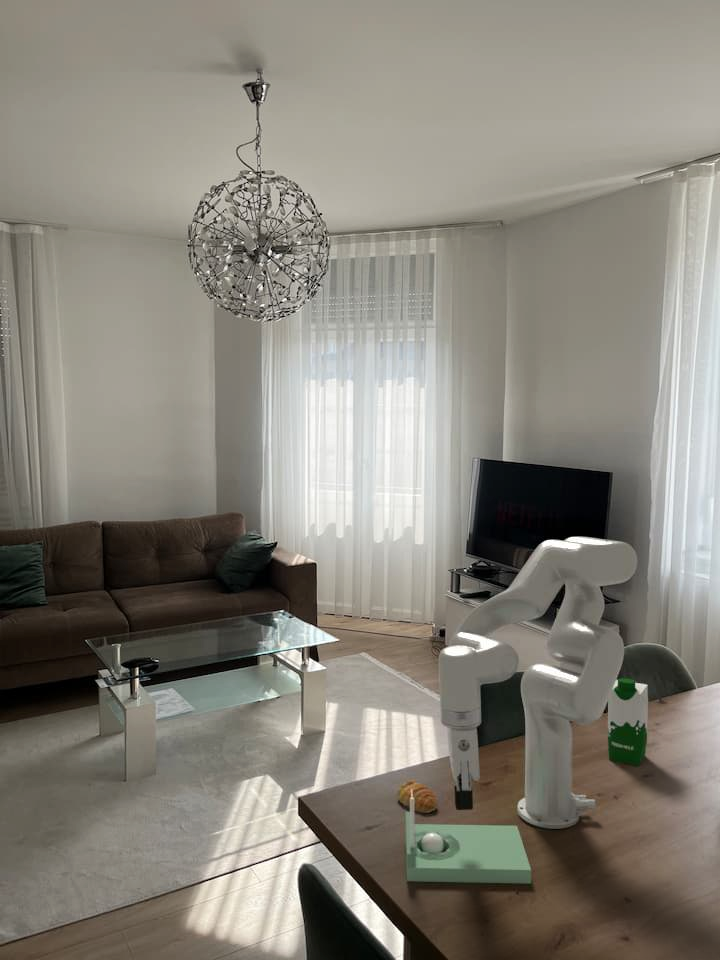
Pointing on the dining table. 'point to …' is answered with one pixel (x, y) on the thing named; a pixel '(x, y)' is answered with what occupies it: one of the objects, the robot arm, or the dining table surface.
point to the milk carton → (627, 721)
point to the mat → (468, 854)
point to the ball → (432, 843)
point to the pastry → (417, 796)
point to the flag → (412, 820)
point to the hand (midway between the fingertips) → (464, 807)
